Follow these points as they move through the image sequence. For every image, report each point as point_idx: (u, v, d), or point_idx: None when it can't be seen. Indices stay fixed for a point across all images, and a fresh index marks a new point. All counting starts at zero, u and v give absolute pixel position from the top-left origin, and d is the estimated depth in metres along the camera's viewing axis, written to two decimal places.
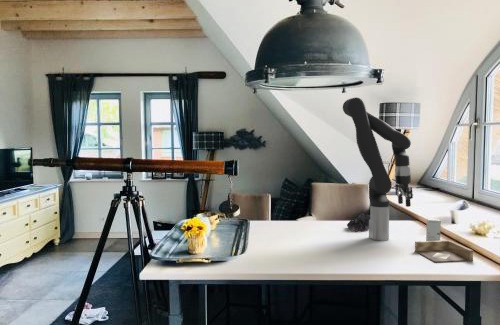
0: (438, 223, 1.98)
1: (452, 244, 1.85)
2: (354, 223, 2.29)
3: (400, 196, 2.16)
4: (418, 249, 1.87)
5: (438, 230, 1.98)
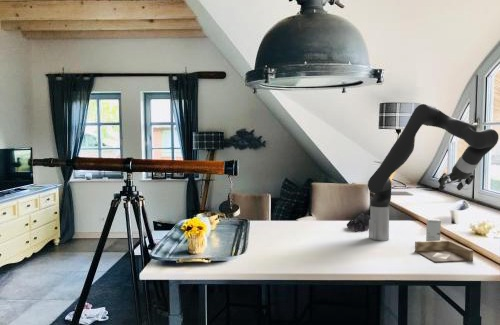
0: (438, 223, 1.98)
1: (452, 244, 1.85)
2: (354, 223, 2.29)
3: (461, 183, 1.84)
4: (418, 249, 1.87)
5: (438, 230, 1.98)
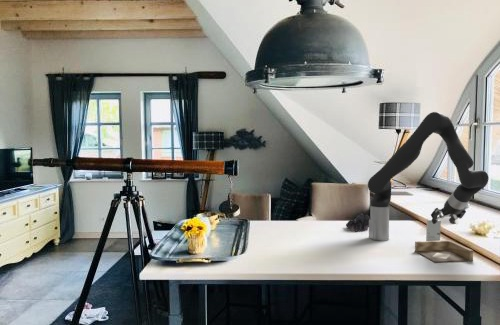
0: (438, 223, 1.98)
1: (452, 244, 1.85)
2: (353, 223, 2.29)
3: (453, 217, 1.90)
4: (418, 249, 1.87)
5: (438, 230, 1.98)
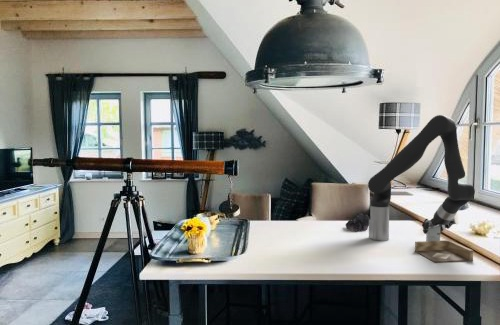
0: None
1: (452, 244, 1.85)
2: (353, 223, 2.29)
3: (441, 227, 2.00)
4: (418, 249, 1.87)
5: (438, 230, 1.98)
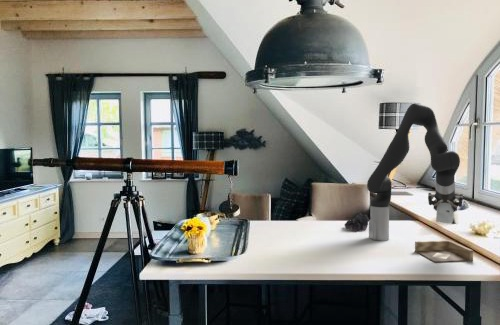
0: None
1: (452, 244, 1.85)
2: (352, 223, 2.29)
3: None
4: (418, 249, 1.87)
5: (447, 207, 1.81)
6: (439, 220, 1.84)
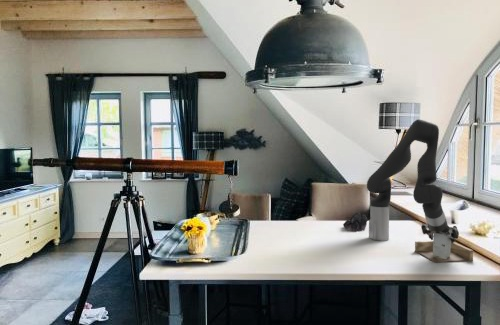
0: None
1: (452, 244, 1.85)
2: (350, 223, 2.29)
3: None
4: (418, 249, 1.87)
5: (443, 241, 1.75)
6: (435, 254, 1.79)
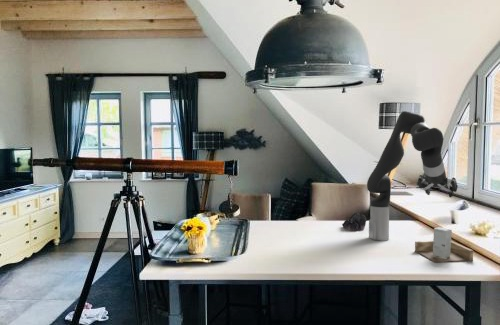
0: (443, 233, 1.75)
1: (452, 244, 1.85)
2: (350, 223, 2.30)
3: None
4: (418, 249, 1.87)
5: (443, 241, 1.75)
6: (435, 254, 1.79)
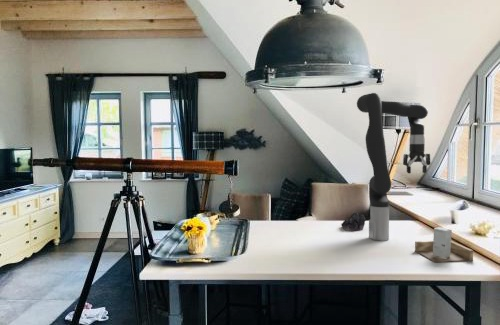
0: (443, 233, 1.75)
1: (452, 244, 1.85)
2: (349, 223, 2.30)
3: (423, 165, 2.20)
4: (418, 249, 1.87)
5: (443, 241, 1.75)
6: (435, 254, 1.79)
